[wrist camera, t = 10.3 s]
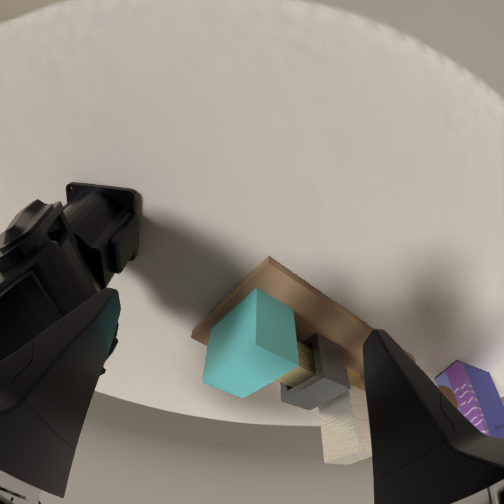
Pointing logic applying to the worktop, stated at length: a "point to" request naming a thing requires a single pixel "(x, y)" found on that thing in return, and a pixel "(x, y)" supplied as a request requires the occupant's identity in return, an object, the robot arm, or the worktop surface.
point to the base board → (297, 311)
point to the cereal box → (473, 397)
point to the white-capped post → (337, 414)
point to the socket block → (251, 346)
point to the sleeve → (320, 375)
